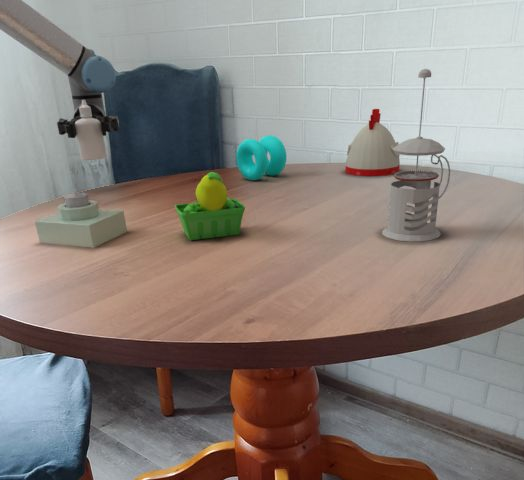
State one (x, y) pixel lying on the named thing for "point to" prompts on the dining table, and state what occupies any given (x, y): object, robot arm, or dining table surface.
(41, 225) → the push button box
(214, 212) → the fruit basket
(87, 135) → the eye dropper bottle
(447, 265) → the dining table surface
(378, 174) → the kitchen timer
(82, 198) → the grayish pink short cylinder
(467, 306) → the dining table surface
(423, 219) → the french press
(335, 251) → the dining table surface
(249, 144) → the donuts
